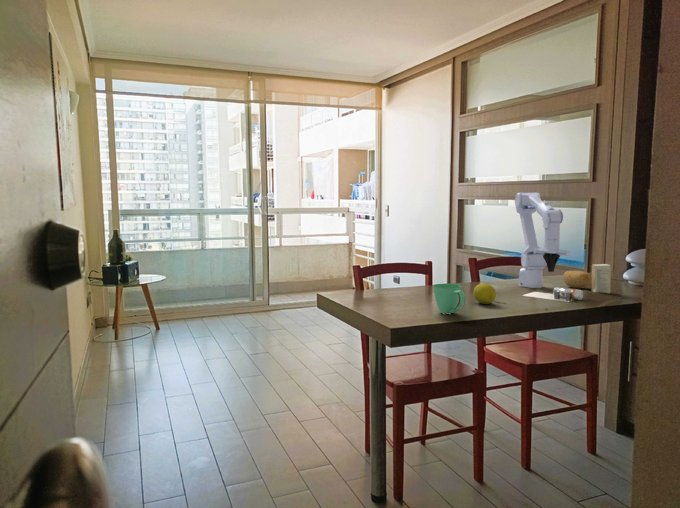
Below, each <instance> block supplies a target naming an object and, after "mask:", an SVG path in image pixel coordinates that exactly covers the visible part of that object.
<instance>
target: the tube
mask: <svg viewBox="0 0 680 508" xmlns="http://www.w3.org/2000/svg"><path fill="white" fill-rule="evenodd" d="M555 291H560V298H566V293H567V292H569V293H571V299H575V301H577V300H578V301H581V300H582V299H583V297H584V291H583V290H582V289H579V288H577V289H575V288H566V287H560V286H559V287H558V286H555V287H554V288H553V291H552V294H553V295H554V292H555Z"/></svg>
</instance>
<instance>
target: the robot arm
mask: <svg viewBox="0 0 680 508" xmlns="http://www.w3.org/2000/svg"><path fill="white" fill-rule="evenodd" d="M514 205H515V210H516V213H518V214H519V216H520V217H519V218H520V222H521V228H522V234H523V238H524V243H525V244H524V245H525V249H524V250H522V252H521V253H520V264H521V266H522V267H521V268H520V270H519V273H518V287H523V288H531V289H541V288H543V270H544V269H545V268H546V267H547V271H548V273H553V272H554V271H555V268H556V265H557V263H558V260H559V259H560V258H561V257H560V256H568V257H569V256H571V250H565V249H560V238H561V237H560V231H561V224H562V223H563V220H564V214H563V211H562V210H561V209H555V208H554V207H553V206H552V205H550V204H549V202H548V201H544V202H543V200H542V199H541V194H540V193H539V192H538V191H536V192H517V193H516V194H515V197H514ZM534 213H537V214H538V215H539V216H540V217H541V219H542V220H541V221H542V223H543V228H544V239H543V240H544V241H543V243H544V245H543V246H544V248H542V247H540V246H538V245H539V243H538V240H537V234H536V231H535V230H536V229H535V225H534V224H535V223H534V220H533V214H534Z"/></svg>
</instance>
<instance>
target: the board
mask: <svg viewBox="0 0 680 508" xmlns="http://www.w3.org/2000/svg"><path fill="white" fill-rule="evenodd" d="M522 296H524V297H530V298H537V299H544V300H545V299H546V300H554V301H560V302H568V303H569V302H572V301H574V300H575V299H571V301H566V298H560V299H554V295H553V293H546V292H541V291H540V292H539V291H531V292H529V293H526V294H523V295H522ZM575 301H576V300H575Z"/></svg>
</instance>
